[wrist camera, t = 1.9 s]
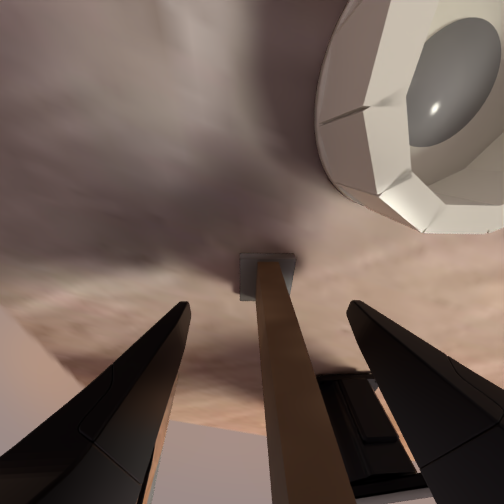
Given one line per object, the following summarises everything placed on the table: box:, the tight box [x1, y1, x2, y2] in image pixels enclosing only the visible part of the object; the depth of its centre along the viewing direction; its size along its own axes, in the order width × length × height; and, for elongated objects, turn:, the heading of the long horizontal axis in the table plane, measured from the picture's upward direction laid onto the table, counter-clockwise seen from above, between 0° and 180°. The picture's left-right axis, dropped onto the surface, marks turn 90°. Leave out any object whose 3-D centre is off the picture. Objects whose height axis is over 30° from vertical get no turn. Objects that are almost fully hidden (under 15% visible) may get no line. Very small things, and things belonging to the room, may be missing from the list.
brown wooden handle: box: [240, 253, 357, 504], centre depth 8 cm, size 3×3×9 cm
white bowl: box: [314, 0, 504, 234], centre depth 6 cm, size 9×9×4 cm
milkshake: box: [136, 375, 178, 504], centre depth 12 cm, size 4×5×10 cm
